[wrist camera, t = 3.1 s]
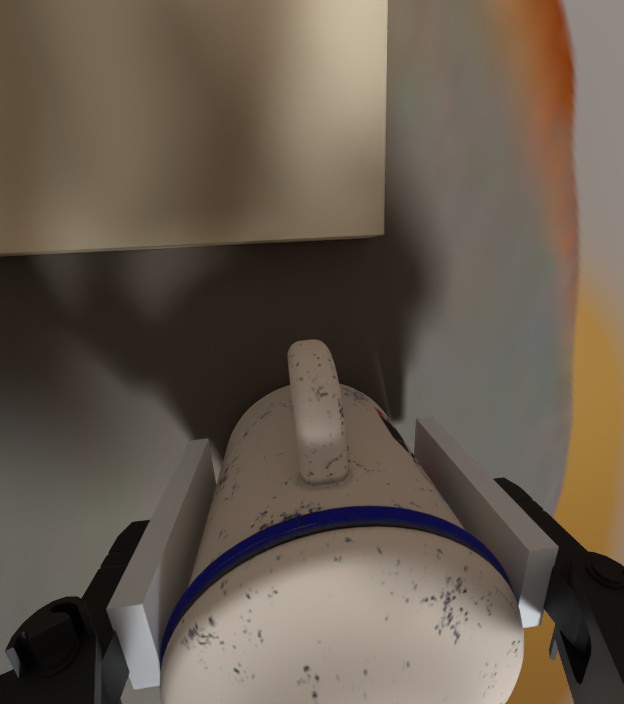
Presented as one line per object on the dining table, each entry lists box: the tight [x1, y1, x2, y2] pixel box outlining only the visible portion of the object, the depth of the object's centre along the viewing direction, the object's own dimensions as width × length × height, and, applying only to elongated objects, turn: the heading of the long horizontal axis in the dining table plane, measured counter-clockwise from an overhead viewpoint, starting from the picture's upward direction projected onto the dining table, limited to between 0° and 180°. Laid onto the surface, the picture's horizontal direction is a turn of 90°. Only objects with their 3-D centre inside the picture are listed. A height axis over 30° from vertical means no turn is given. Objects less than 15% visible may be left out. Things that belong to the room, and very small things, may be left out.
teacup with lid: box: [160, 339, 524, 704], centre depth 10 cm, size 12×9×12 cm
